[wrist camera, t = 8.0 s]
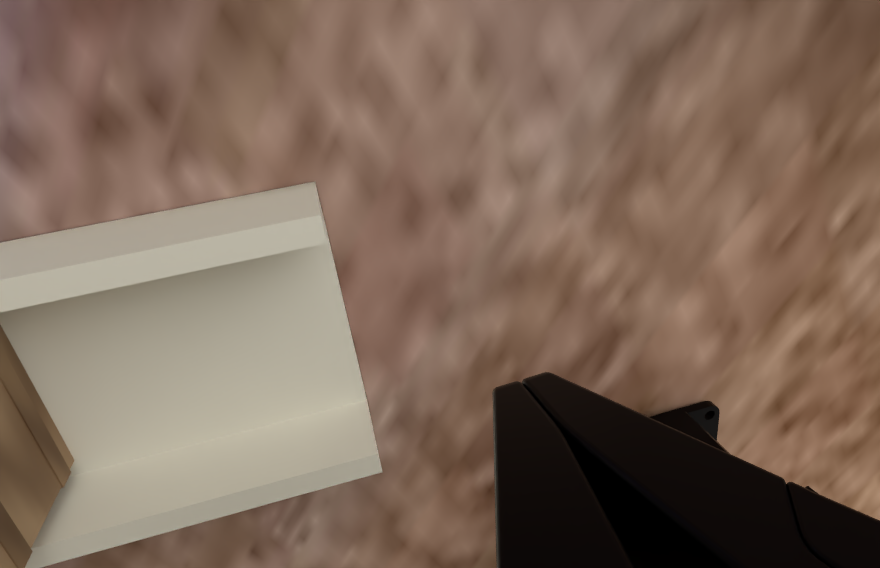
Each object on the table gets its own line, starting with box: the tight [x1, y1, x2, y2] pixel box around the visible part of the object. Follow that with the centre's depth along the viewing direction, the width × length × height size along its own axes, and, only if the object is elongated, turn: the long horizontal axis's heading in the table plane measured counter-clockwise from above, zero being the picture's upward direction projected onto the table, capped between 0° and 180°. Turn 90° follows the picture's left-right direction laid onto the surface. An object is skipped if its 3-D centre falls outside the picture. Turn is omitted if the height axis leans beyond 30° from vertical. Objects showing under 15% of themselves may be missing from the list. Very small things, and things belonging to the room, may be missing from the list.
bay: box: [0, 182, 382, 568], centre depth 17 cm, size 10×18×4 cm, turn 98°
